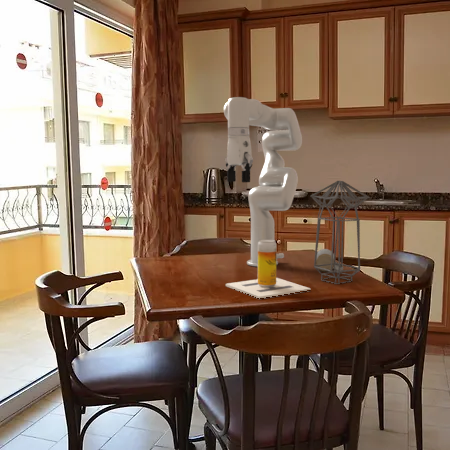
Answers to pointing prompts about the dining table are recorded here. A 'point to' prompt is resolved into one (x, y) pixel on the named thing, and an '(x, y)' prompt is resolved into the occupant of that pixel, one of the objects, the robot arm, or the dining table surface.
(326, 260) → the ceramic mug
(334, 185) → the geometric lantern
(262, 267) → the beer can
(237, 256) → the dining table surface
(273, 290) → the letter board
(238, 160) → the robot arm
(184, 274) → the dining table surface
